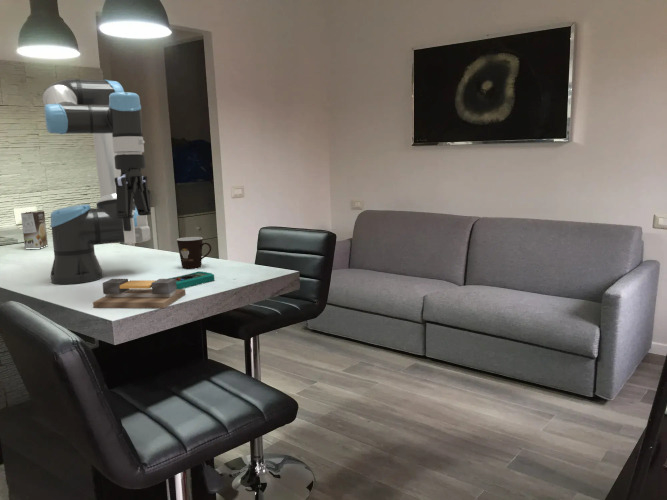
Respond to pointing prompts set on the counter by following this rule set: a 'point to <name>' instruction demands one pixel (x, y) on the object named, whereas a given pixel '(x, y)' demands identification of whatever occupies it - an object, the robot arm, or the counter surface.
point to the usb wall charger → (142, 233)
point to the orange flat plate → (137, 284)
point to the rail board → (139, 295)
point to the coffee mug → (191, 252)
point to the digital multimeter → (193, 279)
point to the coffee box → (34, 229)
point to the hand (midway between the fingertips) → (137, 241)
